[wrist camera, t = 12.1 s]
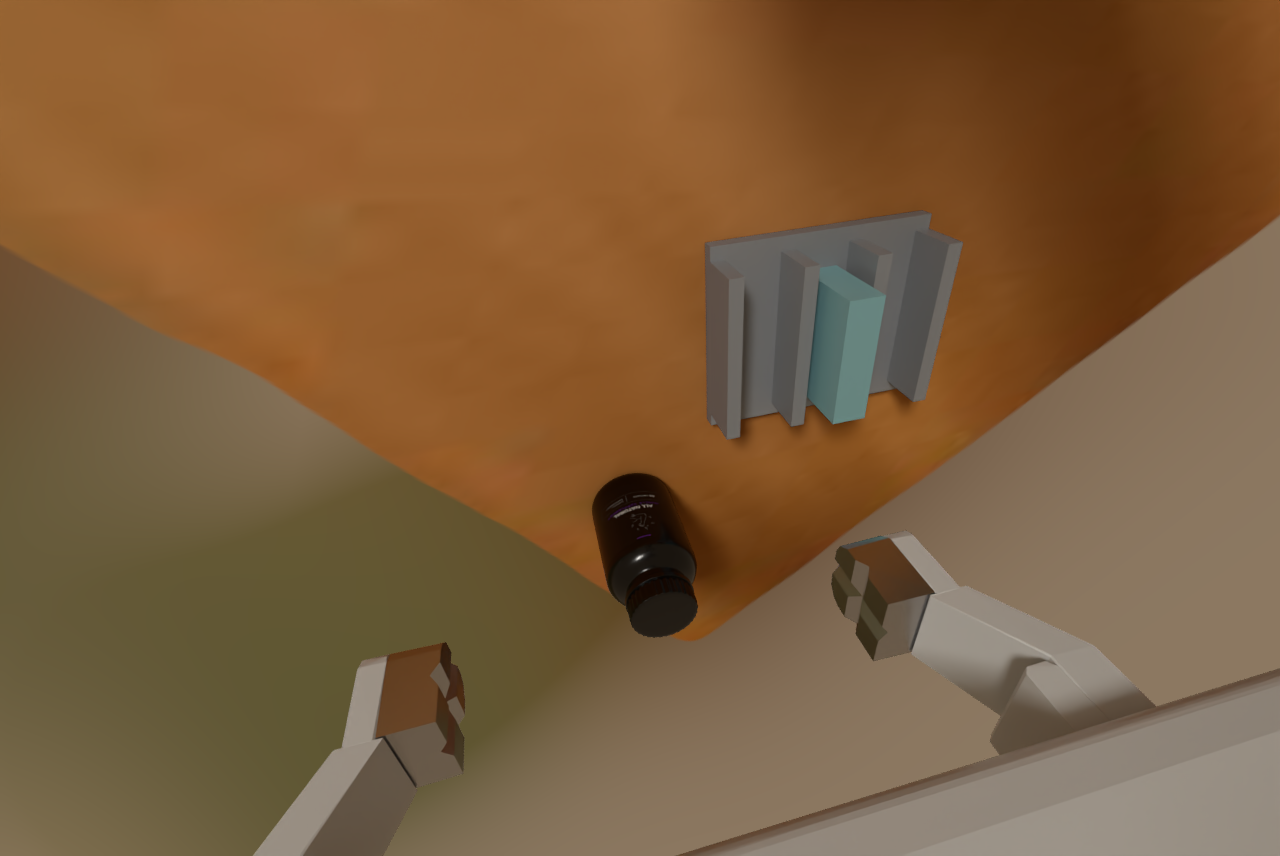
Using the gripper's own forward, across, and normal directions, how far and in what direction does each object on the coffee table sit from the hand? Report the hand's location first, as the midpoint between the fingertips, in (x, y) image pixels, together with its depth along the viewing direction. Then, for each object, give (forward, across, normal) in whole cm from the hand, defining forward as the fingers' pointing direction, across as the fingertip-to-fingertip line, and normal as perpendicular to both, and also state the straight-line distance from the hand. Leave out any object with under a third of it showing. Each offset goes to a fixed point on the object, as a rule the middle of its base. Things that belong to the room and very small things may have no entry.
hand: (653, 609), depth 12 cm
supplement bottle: (+29, -4, +23) cm, 37 cm away
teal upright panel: (+28, -19, +9) cm, 35 cm away
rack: (+29, -19, +9) cm, 36 cm away
